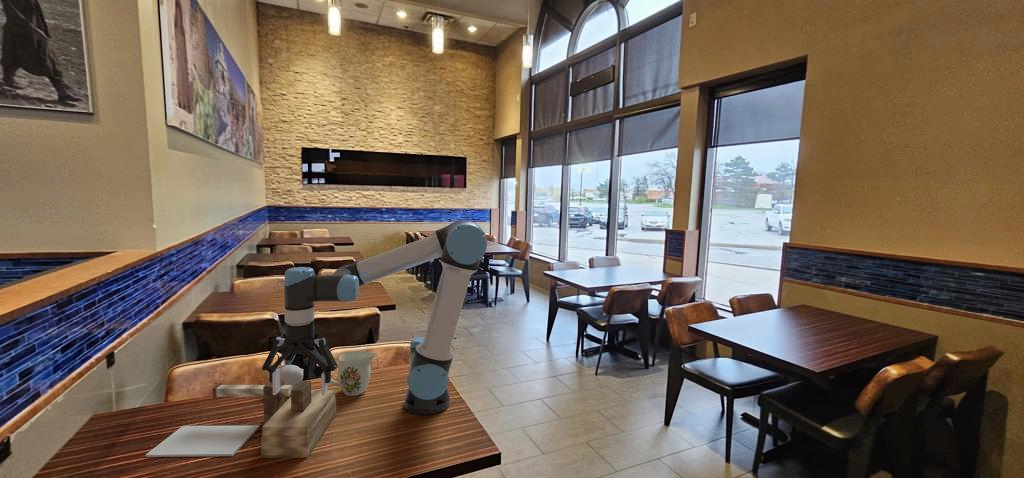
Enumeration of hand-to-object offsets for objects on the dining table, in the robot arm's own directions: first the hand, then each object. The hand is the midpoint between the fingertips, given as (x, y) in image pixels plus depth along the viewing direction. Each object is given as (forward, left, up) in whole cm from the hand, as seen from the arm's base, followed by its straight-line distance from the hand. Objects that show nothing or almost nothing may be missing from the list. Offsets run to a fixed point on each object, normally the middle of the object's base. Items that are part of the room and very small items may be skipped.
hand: (300, 393), depth 123 cm
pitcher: (-6, -27, -13) cm, 31 cm away
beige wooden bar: (+17, -7, -4) cm, 19 cm away
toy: (+18, -30, -13) cm, 37 cm away
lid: (0, 0, -7) cm, 7 cm away
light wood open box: (+3, 0, -13) cm, 13 cm away
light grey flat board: (+25, +3, -13) cm, 28 cm away
